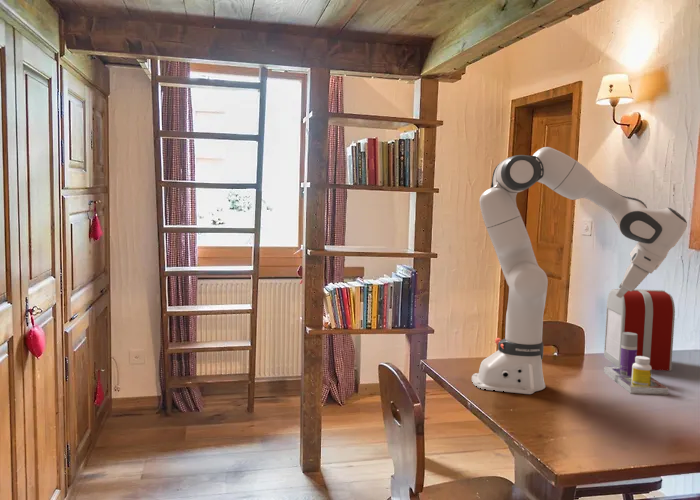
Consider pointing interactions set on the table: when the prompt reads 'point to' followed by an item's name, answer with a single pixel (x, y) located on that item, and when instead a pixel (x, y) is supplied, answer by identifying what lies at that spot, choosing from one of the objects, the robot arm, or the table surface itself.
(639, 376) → the supplement bottle
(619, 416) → the table surface
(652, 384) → the rectangular frame with crossbar
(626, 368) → the container
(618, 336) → the red striped box
